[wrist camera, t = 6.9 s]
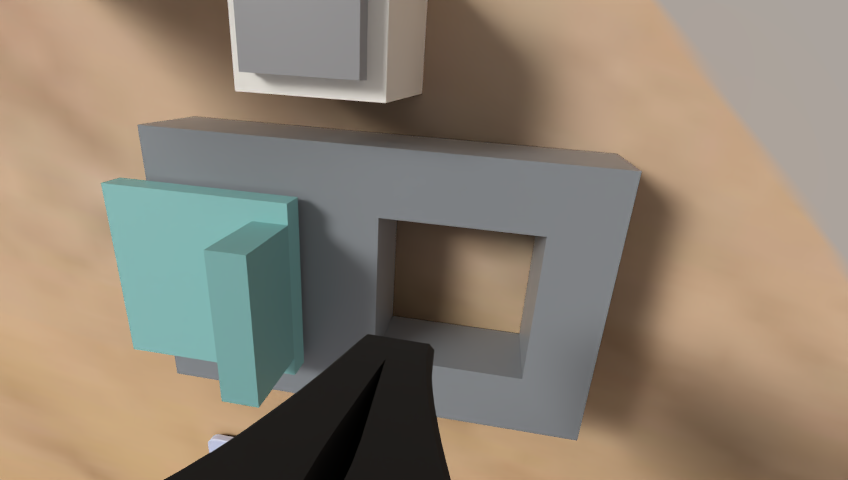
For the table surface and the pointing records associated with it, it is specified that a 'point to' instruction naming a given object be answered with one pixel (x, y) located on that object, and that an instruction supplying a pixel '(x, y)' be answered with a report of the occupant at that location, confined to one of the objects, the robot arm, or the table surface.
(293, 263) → the shutter
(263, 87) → the plug
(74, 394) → the table surface
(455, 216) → the socket plate
